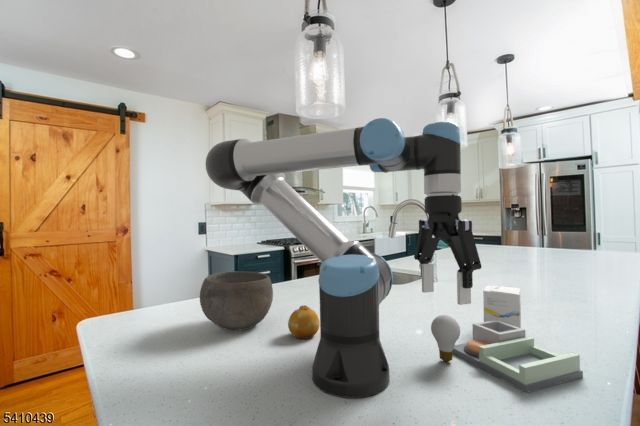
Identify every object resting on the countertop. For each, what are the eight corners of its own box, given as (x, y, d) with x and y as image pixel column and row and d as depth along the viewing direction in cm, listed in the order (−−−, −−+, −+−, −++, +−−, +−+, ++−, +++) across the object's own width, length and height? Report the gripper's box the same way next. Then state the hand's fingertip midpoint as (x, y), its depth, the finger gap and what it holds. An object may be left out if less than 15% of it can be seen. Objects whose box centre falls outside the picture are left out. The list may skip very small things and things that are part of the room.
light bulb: (463, 369, 67) (462, 320, 67) (433, 367, 68) (432, 319, 68) (457, 356, 72) (456, 312, 72) (430, 355, 73) (429, 310, 74)
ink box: (521, 341, 81) (520, 293, 81) (483, 334, 85) (482, 290, 85) (521, 330, 88) (520, 287, 88) (486, 325, 93) (485, 284, 93)
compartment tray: (526, 392, 57) (525, 361, 57) (449, 351, 75) (449, 327, 75) (582, 377, 62) (582, 348, 62) (498, 341, 80) (498, 319, 80)
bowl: (287, 324, 96) (286, 273, 96) (224, 345, 81) (224, 285, 81) (247, 311, 110) (246, 267, 111) (187, 327, 95) (186, 276, 95)
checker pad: (480, 356, 69) (480, 350, 69) (462, 347, 74) (462, 341, 74) (499, 352, 70) (498, 346, 70) (479, 343, 75) (479, 338, 75)
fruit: (308, 318, 94) (299, 298, 91) (329, 327, 88) (319, 306, 85) (289, 339, 89) (278, 318, 86) (309, 350, 83) (298, 328, 80)
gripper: (501, 191, 61) (504, 309, 61) (423, 198, 83) (425, 285, 82) (469, 191, 58) (472, 314, 58) (397, 198, 80) (399, 288, 80)
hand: (444, 297), depth 70 cm, fingers open, 10 cm apart
